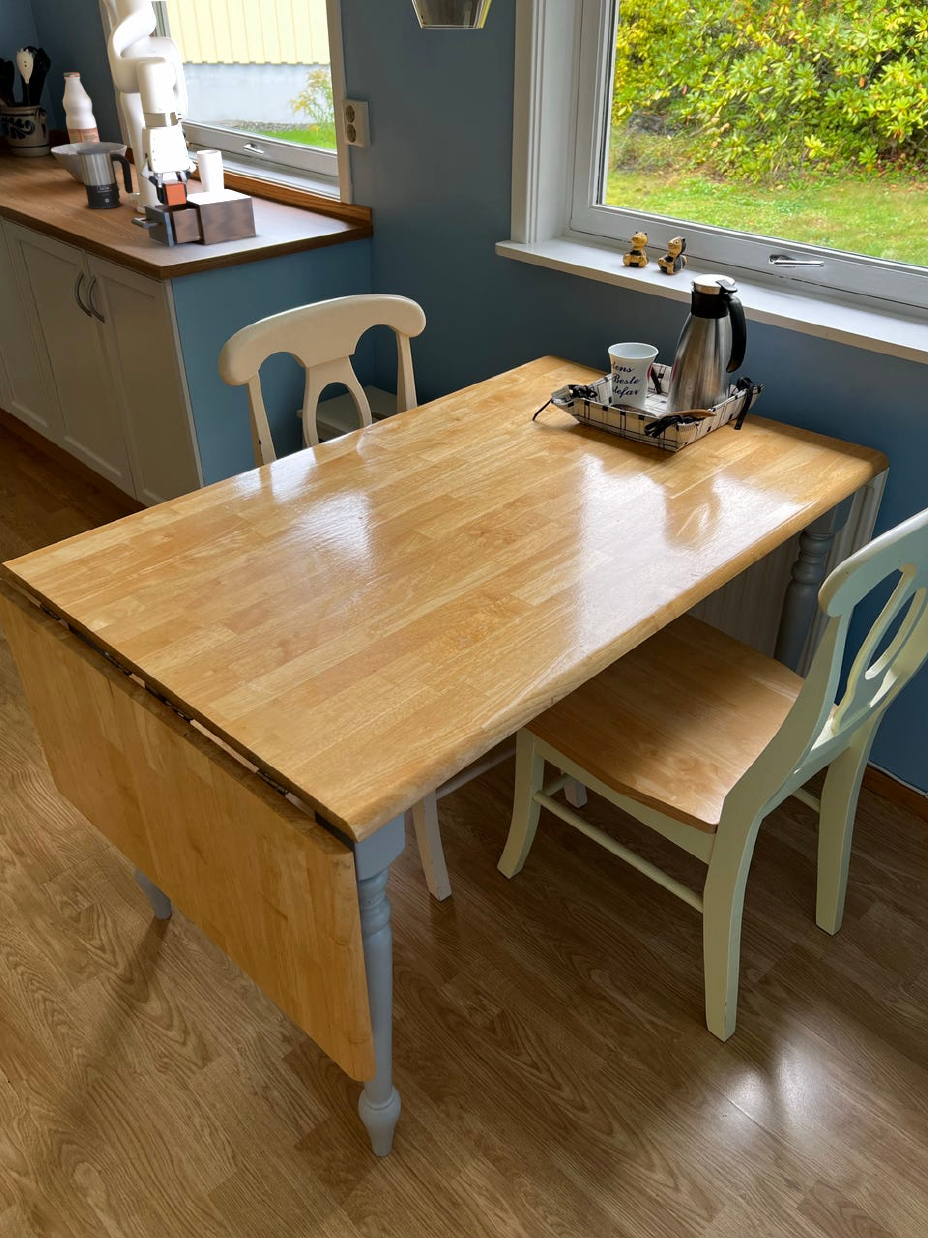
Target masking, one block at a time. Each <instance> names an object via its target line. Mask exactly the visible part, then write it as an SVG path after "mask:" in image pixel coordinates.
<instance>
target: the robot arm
mask: <svg viewBox="0 0 928 1238" xmlns="http://www.w3.org/2000/svg"><path fill="white" fill-rule="evenodd" d="M153 1H154V2H159V1H161V2H162V1H166V0H102V2H103V3H104V5H105V7H106V9H107V12H108V14H109V17H110V21H111V24H112V30H111V32H110V34H109V37H108V41H107V56H108V62H109V65H110V70H111V76H112V79H113V82H114V85H115V86H116V88H117V90H118V91H119V92H120V94H119V100H120V106H121V109H122V112H123V117H124V119H125V122H126V126H127V130H128V135H129V140H130V145H131V150H132V156H133V162H134V168H135V173H136V174H135V175H136V180H137V184H138V191H139V192H137V193H134V192H133V193H130V194H128V200H129V202H132V203H133V202H136V203H137V205H136V211H137V212H138V213H140V214H145V208H144V205H150V206H152V207H155V205H162V204H164V205H166V204H167V198H166V192H165V188H164V187H163V180H170V179H172V172H175V174H176V176H177V179H178V180H180V181H183V183H184V184H183V185H184V191H185V198H186V202H187V195H188V189H187V184H188V181H189V179H190V178H191V176H192V174H193V173H194V172H195V171H196V170H197V166H196V165H195V163H194V162H193V161H192V159H191V158H190V157H189V153H188V152H189V151H188V148H187V144H186V139H185V136H184V133H183V129H182V130H181V127H180V126H179V125H178V124H177V123H179V122H181V123H183V122H186V121H187V120H188V118H189V115H190V114H189V113H190V112H189V111H190V110H189V102H188V101H189V100H188V96H187V88H186V82H185V81H186V80H185V76H184V69H183V62H182V57H181V52H180V49H179V46H178V44H177V43H176V41H175V40H174V39H173V38H171V37H168V36H150V35H151V34H152V33H153V32H154V30H155V28H156V27H157V26H156V25H157V18H156V15H155V11H154V8H153V3H152V2H153ZM145 215H146V214H145Z"/></svg>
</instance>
